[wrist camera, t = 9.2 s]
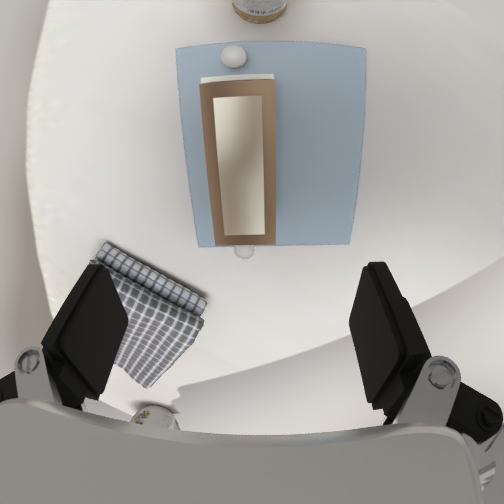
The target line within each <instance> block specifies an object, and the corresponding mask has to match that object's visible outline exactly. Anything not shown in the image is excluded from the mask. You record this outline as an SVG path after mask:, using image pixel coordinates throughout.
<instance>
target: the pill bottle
mask: <svg viewBox="0 0 504 504" xmlns="http://www.w3.org/2000/svg"><path fill="white" fill-rule="evenodd" d="M287 1H288V0H232V2H233V7H234V10H235V12H236V13H237V14H238V15H239V16H240V17H241V18H243V19H245V20H247V21H249V22H253V23H267V22H271V21H273V20H275V19H277V18H278V17H279V16H281V15H282V14H283V13H284V11H285V9H286V7H287Z"/></svg>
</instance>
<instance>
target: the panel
mask: <svg viewBox="0 0 504 504" xmlns="http://www.w3.org/2000/svg"><path fill="white" fill-rule="evenodd" d="M175 50H176V65H177V78H178V90H179V101H180V111H181V121H182V130H183V139H184V148H185V156H186V164H187V172H188V180H189V187H190V194H191V201H192V208H193V215H194V221H195V228H196V234H197V240H198V246H199V247H235V250H234V252H235V254H236V256H237V257H239V258H241V259H247V258H250V257H251V256H252V255H253V253H254V246H287V245H340V244H349V243H350V237H351V231H352V225H353V218H354V212H355V205H356V197H357V189H358V181H359V172H360V163H361V153H362V141H363V128H364V112H365V90H366V49H365V48H359V47H352V46H344V45H335V44H325V43H313V42H295V41H249V42H231V43H218V44H208V45H200V46H192V47H185V48H178V49H175ZM251 79H273V80H275V112H276V245H234V246H215V240H214V231H213V223H212V215H211V206H210V197H209V188H208V178H207V168H206V158H205V148H204V137H203V126H202V114H201V101H200V88H199V84H202V83H208V82H217V81H230V80H251Z"/></svg>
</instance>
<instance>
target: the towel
mask: <svg viewBox="0 0 504 504" xmlns="http://www.w3.org/2000/svg"><path fill="white" fill-rule="evenodd" d="M89 264H103V265H104V266H105V268H107V269H108V270H109V272H110V275H111V277H112V280H113V282H114V285H115V287H116V290H117V292H118V294H119V297H120V299H121V302H122V304H123V306H124V308H125V311H126V313H127V315H128V319H129V323H128V327H127V329H126V332H125V334H124V337H123V339H122V342H121V345H120V347H119V350H118V353H117V355H116V358H115V361H114V364H116V365H118V366H119V367H121V368H123V369H124V370H125V371H126V372H127V373H128V374H129V375H130V377H132V378H133V379H134V380H135V381H136V382H137V383H139V384H141V385H142V386H143V387H144V388H149V387H152V385H153V384H154V383H155V382H156V381H157V380H158V379H159V378H160V376H161V375H162V374H163V373H164V372H166V371H167V370H168V369H169V368H170V367H171V366H172V365H173V364H174V362H175V361H176V360H177V359H178V358H179V357H180V356H181V354H183V353H184V352H185V350H187V348H189V346H190V345H192V344H193V343H194V341H195V338H196V336H197V334H198V332H199V331H200V330H201V328H202V327H203V323H204V319H202V318H200V316H201V314H202V313H203V311H204V309H205V306H206V305H207V302H206V300H205V299H203V298H202V297H200V296H198V294H196V293H193V292H191V290H189V289H187V288H184V287H183V286H182V285H180V284H178V283H175V282H174V281H172V280H171V279H168V278H167V277H166V276H164V275H161V274H159V273H158V272H157V271H155V270H152V269H151V268H149V267H147V266H145V265H143V264H142V263H140V262H136V261H135V260H134V259H132V258H131V257H128V256H127V255H126V254H124V253H122V252H121V251H120V250H118V249H117V248H114V247H112V246H111V245H110V244H108V243H104V245H103V247H102V249H101V250H100V251H99V252H98V253H97V254H96V257H95V260H90V262H89ZM89 264H88V265H89Z"/></svg>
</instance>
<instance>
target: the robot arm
mask: <svg viewBox="0 0 504 504" xmlns="http://www.w3.org/2000/svg"><path fill="white" fill-rule="evenodd" d="M128 323H129V319H128V315H127V313H126V311H125V308H124V306H123V304H122V302H121V299H120V297H119V294H118V292H117V290H116V287H115V285H114V282H113V280H112V277H111V275H110V272H109V270H108V269H107V268H105V266H104V265H103V264H89V265H88V266H87V267H86V269H85V270H84V272H83V273H82V275H81V276H80V278H79V279H78V281H77V282H76V284H75V286H74V287H73V289H72V290H71V292H70V293H69V295H68V297H67V298H66V300H65V302H64V303H63V305H62V307H61V308H60V310H59V312H58V313H57V315H56V317H55V318H54V320H53V322H52V324H51V326H50V327H49V329H48V331H47V333H46V335H45V336H44V338H43V340H42V342H41V344H42V345H43V349H42V350H41V349H40V348H38V347H36V346H31V347H28V348H26V349H24V350H23V351H22V352H21V353H20V354H19V355H18V357H17V359H16V361H15V368H14V369H15V371H13V372H12V373H10V374H8V375H7V376H5V377H3V378H2V379H0V504H504V424H503V414H502V411H501V408H500V407H499V405H498V404H497V403H496V402H494V401H493V400H492V399H490V398H488V397H486V396H485V395H483V394H481V393H479V392H478V391H476V390H474V389H473V388H471V387H469V386H467V385H466V384H464V383H462V382H460V381H461V374H460V371H459V368H458V367H457V365H456V364H455V363H454V362H453V361H452V360H451V359H449V358H447V357H444V356H434V357H432V356H431V353H430V351H429V349H428V346H427V344H426V341H425V339H424V336H423V334H422V332H421V329H420V327H419V325H418V323H417V321H416V318H415V316H414V314H413V312H412V309H411V307H410V305H409V303H408V301H407V300H406V298H404V297H402V295H401V292H400V290H399V288H398V286H397V284H396V282H395V280H394V278H393V276H392V274H391V272H390V270H389V268H388V266H387V265H386V263H385V262H369V263H368V265H367V266H364V267H363V270H362V274H361V278H360V281H359V285H358V289H357V293H356V297H355V300H354V304H353V307H352V311H351V314H350V318H349V327H350V331H351V335H352V338H353V342H354V346H355V351H356V355H357V359H358V363H359V367H360V372H361V376H362V380H363V385H364V390H365V394H366V399H367V402H368V403H372V407H373V410H376V409H383V411H384V415H386V417H385V418H384V420H383V422H382V423H381V425H380V426H376V427H367V428H360V429H353V430H344V431H334V432H323V433H311V434H294V435H230V434H212V433H201V432H190V431H182V430H174V429H166V428H159V427H153V426H147V425H141V424H136V423H131V422H126V421H121V420H116V419H112V418H108V417H104V416H100V415H95V414H92V413H88V411H87V408H86V405H85V403H84V399H85V397H87V398H89V399H94V400H98V399H99V396H100V394H102V393H103V392H104V389H105V386H106V384H107V381H108V378H109V375H110V372H111V369H112V366H113V364H114V361H115V358H116V355H117V353H118V350H119V347H120V345H121V342H122V339H123V337H124V334H125V332H126V329H127V327H128Z"/></svg>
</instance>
